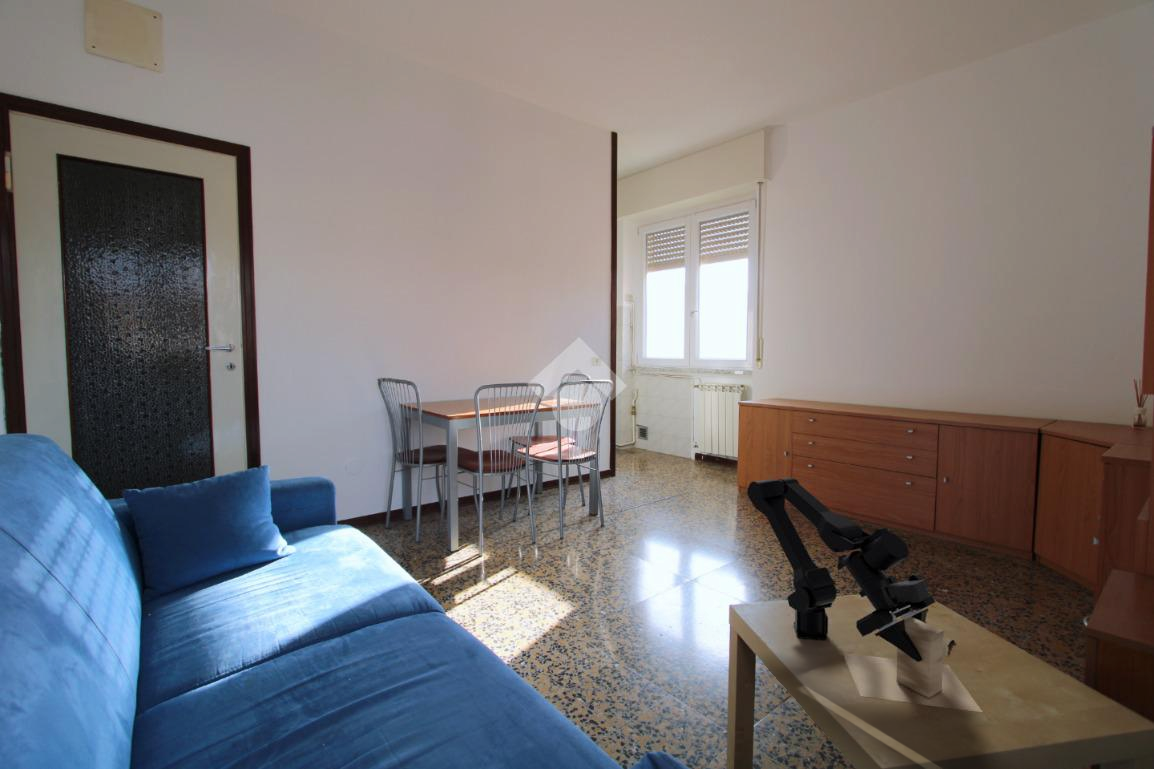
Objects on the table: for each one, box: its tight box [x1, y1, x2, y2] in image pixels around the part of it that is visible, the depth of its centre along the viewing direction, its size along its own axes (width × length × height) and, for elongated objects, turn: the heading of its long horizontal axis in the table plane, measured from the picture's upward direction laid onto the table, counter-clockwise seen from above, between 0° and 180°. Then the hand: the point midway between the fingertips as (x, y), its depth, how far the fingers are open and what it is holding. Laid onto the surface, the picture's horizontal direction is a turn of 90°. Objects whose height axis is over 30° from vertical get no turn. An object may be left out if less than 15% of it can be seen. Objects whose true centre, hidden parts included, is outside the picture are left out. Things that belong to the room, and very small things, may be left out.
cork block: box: [896, 617, 944, 699], centre depth 103 cm, size 6×4×12 cm
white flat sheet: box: [842, 652, 984, 713], centre depth 105 cm, size 20×15×1 cm
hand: (927, 657), depth 101 cm, fingers closed on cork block, 4 cm apart
